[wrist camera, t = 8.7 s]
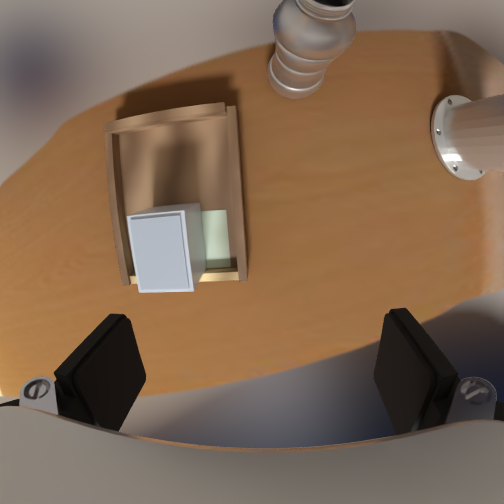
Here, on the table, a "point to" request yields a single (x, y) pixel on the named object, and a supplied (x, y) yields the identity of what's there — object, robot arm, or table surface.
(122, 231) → the bay
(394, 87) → the table surface
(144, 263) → the grey block
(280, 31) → the plastic bottle
